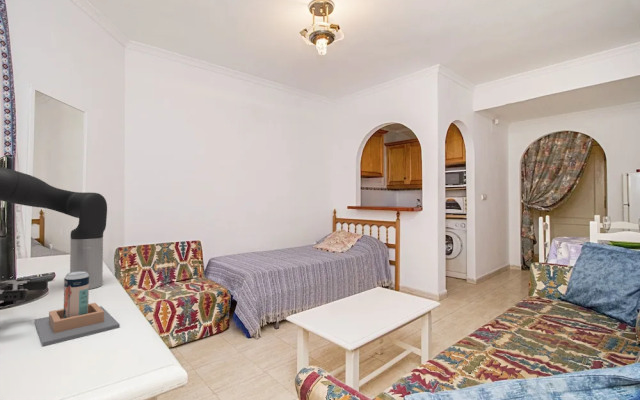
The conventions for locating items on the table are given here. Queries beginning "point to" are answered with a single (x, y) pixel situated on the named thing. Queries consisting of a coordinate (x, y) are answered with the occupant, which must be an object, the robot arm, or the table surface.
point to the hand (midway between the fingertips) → (37, 289)
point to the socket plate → (74, 325)
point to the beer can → (76, 294)
